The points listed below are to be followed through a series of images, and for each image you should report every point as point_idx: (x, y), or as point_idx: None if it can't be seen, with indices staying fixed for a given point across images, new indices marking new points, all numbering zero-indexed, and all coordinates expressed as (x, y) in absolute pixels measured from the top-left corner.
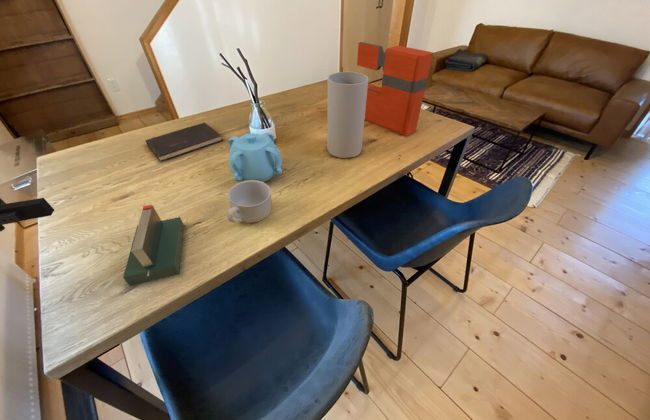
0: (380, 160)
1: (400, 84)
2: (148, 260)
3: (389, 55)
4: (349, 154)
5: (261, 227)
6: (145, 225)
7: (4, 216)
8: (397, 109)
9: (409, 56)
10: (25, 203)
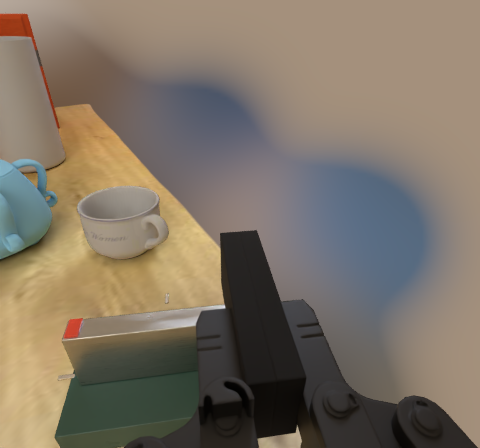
0: (92, 146)
1: None
2: None
3: None
4: (62, 154)
5: (166, 239)
6: (156, 314)
7: (317, 330)
8: None
9: (7, 18)
10: (249, 266)
